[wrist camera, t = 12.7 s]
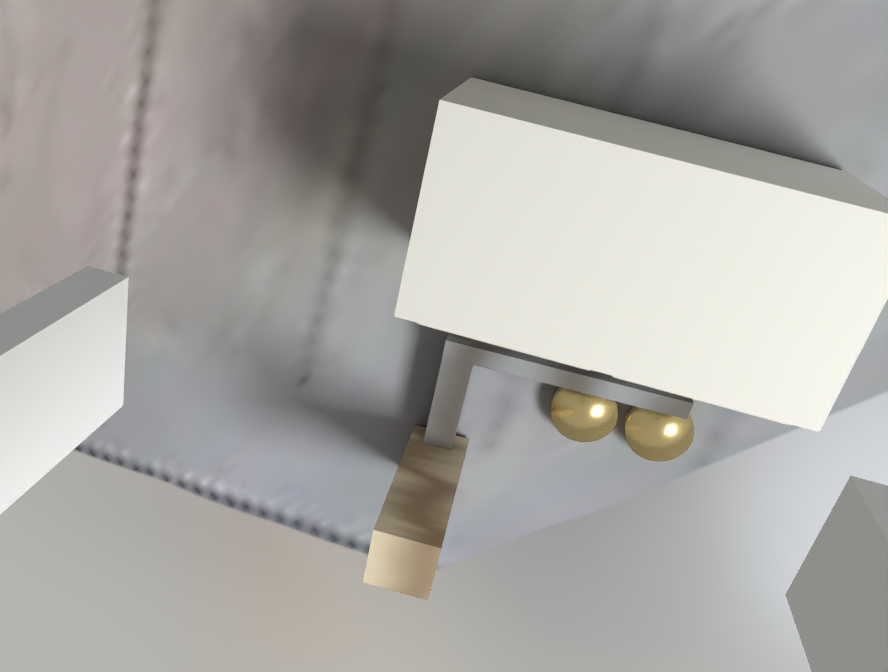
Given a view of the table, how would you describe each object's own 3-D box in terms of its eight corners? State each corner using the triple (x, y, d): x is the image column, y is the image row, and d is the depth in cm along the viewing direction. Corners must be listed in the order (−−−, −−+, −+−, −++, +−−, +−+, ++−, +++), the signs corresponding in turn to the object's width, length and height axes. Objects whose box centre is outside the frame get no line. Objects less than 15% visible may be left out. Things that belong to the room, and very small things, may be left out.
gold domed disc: (618, 446, 53) (619, 455, 52) (631, 390, 51) (632, 398, 50) (683, 456, 53) (686, 466, 51) (698, 400, 51) (701, 409, 50)
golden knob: (546, 426, 53) (545, 435, 52) (557, 370, 52) (557, 378, 50) (610, 438, 53) (610, 447, 52) (623, 382, 51) (624, 390, 50)
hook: (404, 470, 56) (362, 582, 46) (436, 321, 51) (398, 408, 40) (632, 530, 55) (644, 660, 44) (688, 385, 50) (718, 492, 39)
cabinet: (431, 256, 49) (393, 321, 39) (471, 77, 45) (439, 99, 35) (768, 346, 48) (816, 436, 38) (847, 171, 43) (926, 223, 33)
